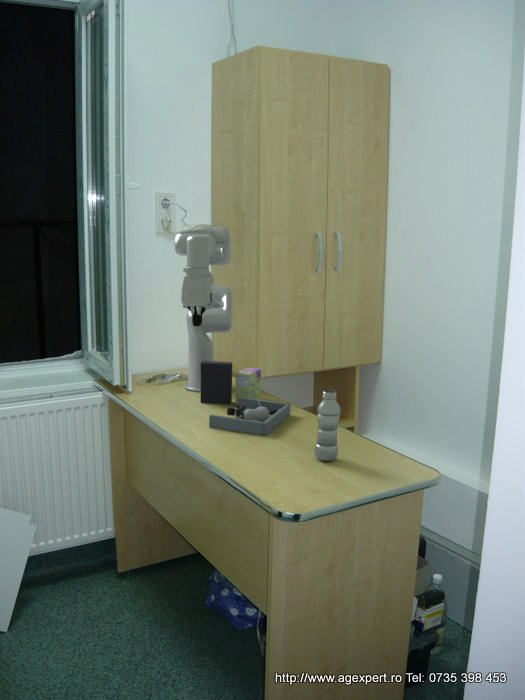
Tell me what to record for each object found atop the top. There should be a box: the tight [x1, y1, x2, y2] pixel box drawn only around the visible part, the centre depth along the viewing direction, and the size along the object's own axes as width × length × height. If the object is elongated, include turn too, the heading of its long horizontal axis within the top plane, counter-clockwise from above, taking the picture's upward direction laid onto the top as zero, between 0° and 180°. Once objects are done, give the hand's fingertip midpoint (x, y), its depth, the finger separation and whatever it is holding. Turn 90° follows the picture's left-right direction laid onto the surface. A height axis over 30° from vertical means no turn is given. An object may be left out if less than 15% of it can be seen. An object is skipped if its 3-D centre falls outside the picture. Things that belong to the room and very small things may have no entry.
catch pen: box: [208, 397, 292, 437], centre depth 224 cm, size 24×19×4 cm
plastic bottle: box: [314, 389, 342, 462], centre depth 189 cm, size 6×7×20 cm
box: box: [234, 367, 262, 405], centre depth 246 cm, size 10×6×12 cm, turn 156°
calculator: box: [200, 360, 233, 405], centre depth 243 cm, size 11×4×15 cm, turn 84°
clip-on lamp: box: [226, 401, 280, 422], centre depth 227 cm, size 12×6×18 cm
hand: (197, 325), depth 233 cm, fingers closed
